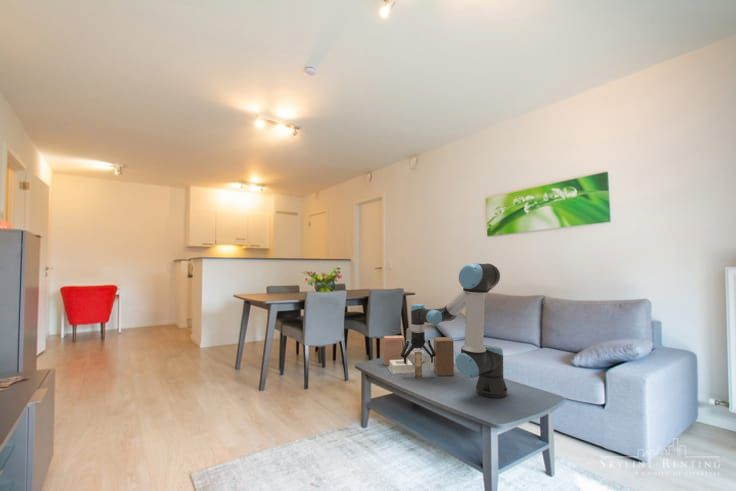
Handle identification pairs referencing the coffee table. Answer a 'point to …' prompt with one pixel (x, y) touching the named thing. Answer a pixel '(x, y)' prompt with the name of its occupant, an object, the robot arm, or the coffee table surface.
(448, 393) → the coffee table surface
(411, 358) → the ramekin
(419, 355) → the peg
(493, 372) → the robot arm
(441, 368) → the wooden block
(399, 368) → the socket
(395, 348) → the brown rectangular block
